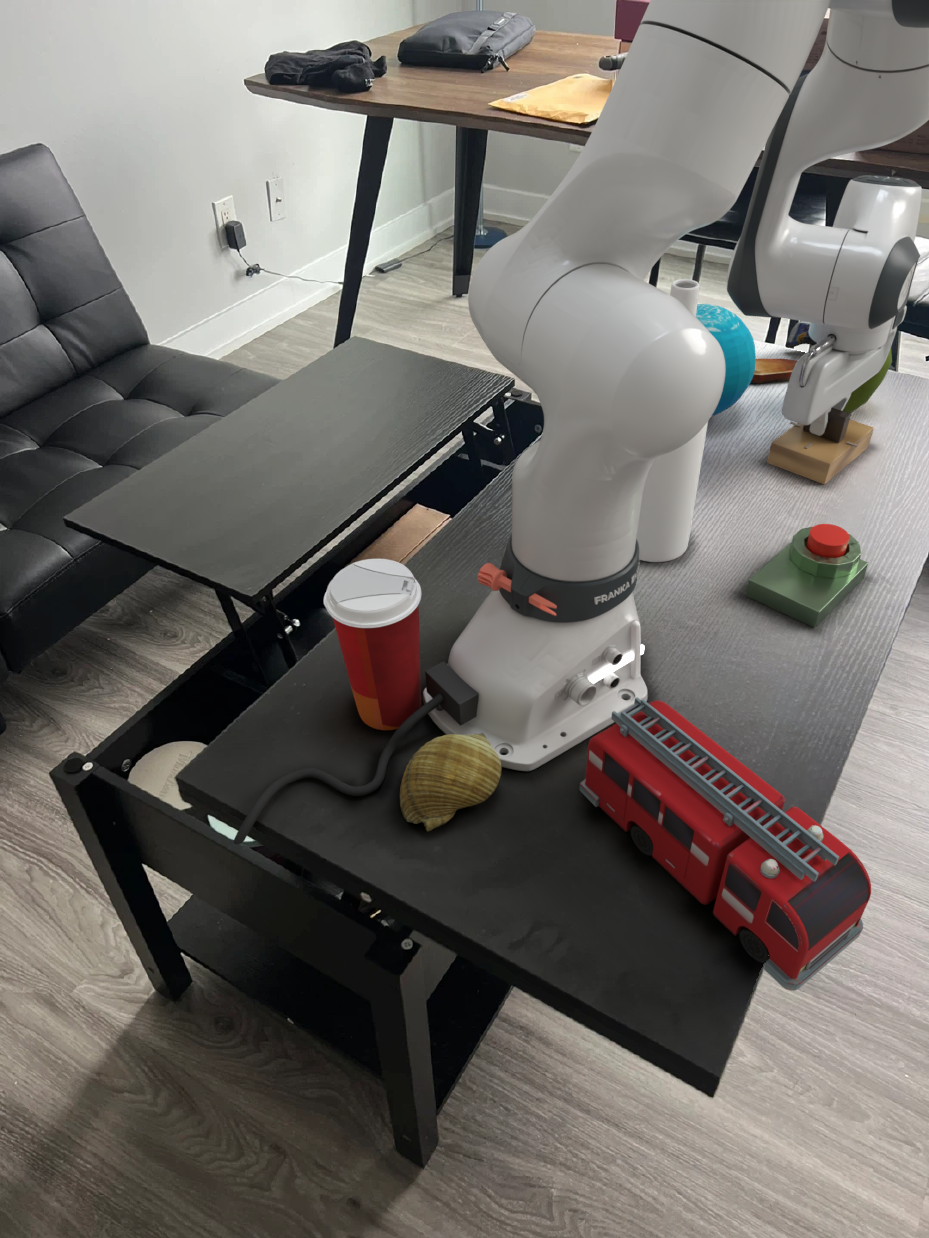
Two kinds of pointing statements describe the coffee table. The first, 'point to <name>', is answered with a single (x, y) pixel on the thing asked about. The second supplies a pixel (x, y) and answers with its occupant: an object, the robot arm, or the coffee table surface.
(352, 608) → the coffee cup
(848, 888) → the toy
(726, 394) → the decorative orb
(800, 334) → the snack package
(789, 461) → the panel
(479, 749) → the seashell
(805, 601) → the green lamp base
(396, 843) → the coffee table surface
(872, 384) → the apple
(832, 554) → the lamp button
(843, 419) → the knob
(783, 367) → the wooden boat shaped bowl
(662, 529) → the bottle
